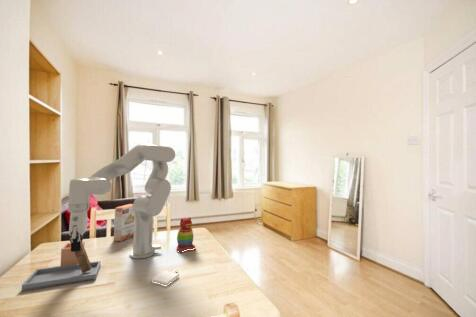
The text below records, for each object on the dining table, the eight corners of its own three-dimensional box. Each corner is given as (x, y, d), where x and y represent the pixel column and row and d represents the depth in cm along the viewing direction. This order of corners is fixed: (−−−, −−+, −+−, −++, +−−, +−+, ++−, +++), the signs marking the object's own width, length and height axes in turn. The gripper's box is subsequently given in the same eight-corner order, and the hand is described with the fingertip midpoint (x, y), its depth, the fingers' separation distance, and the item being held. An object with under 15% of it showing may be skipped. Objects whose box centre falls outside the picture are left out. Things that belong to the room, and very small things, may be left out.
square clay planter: (83, 259, 113) (84, 241, 113) (80, 266, 106) (81, 247, 106) (65, 261, 110) (66, 243, 110) (60, 268, 103) (61, 249, 103)
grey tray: (100, 266, 106) (100, 261, 106) (95, 279, 94) (95, 274, 94) (36, 275, 97) (36, 269, 97) (21, 291, 85) (21, 284, 85)
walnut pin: (91, 268, 100) (92, 233, 101) (90, 272, 98) (90, 235, 98) (70, 272, 97) (71, 235, 97) (68, 275, 95) (69, 237, 95)
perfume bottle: (151, 278, 94) (169, 266, 105) (151, 283, 94) (169, 270, 105) (166, 283, 91) (183, 270, 102) (166, 288, 91) (183, 274, 102)
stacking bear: (178, 253, 124) (180, 221, 124) (173, 247, 132) (174, 217, 132) (197, 250, 130) (198, 219, 130) (190, 244, 138) (191, 215, 138)
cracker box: (121, 242, 137) (122, 208, 138) (113, 241, 139) (114, 207, 139) (136, 234, 151) (137, 204, 151) (128, 234, 152) (129, 203, 153)
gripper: (85, 210, 91) (82, 255, 91) (92, 203, 106) (90, 242, 106) (62, 211, 88) (59, 258, 88) (73, 203, 103) (71, 243, 103)
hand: (76, 249), depth 97 cm, fingers closed on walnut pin, 3 cm apart
